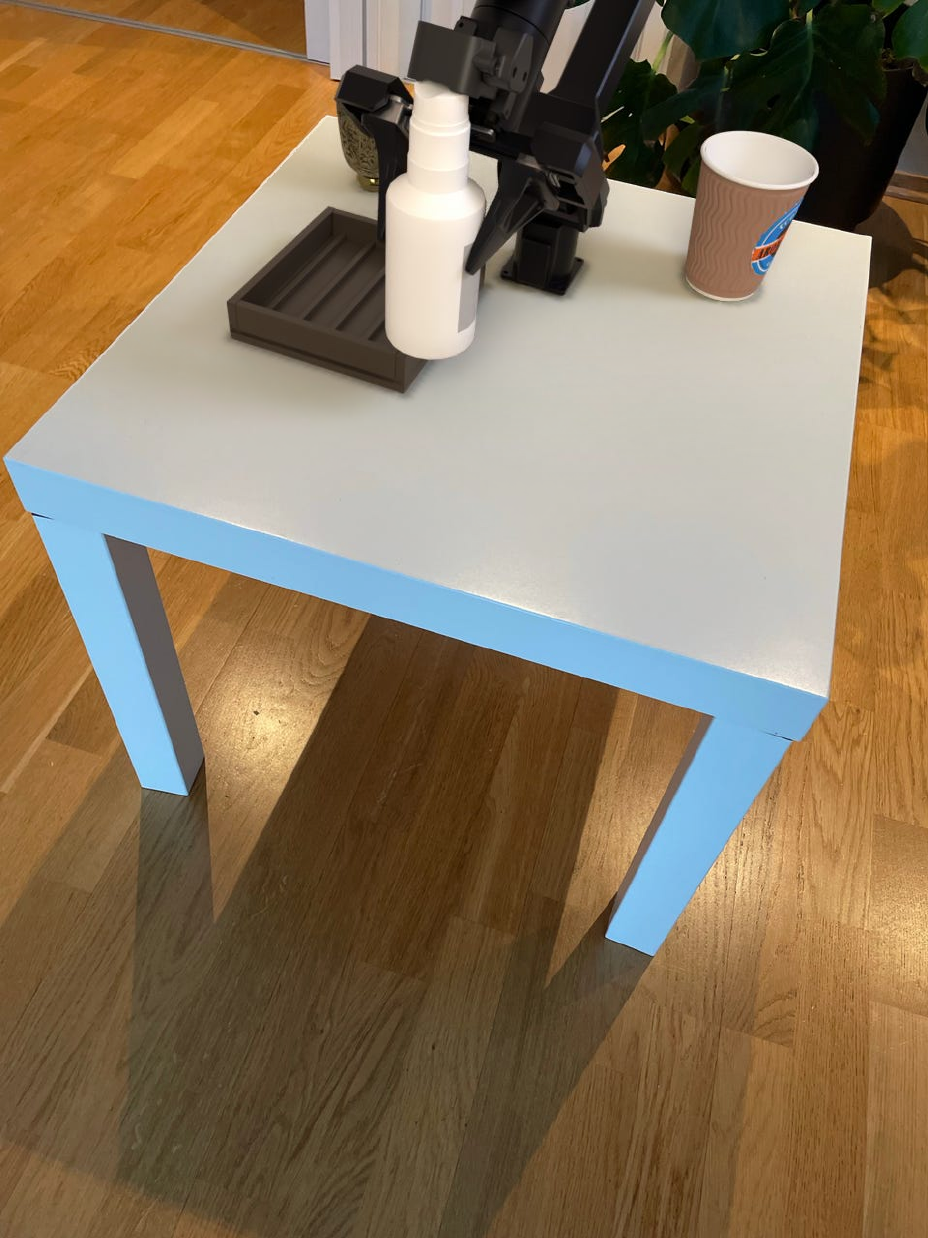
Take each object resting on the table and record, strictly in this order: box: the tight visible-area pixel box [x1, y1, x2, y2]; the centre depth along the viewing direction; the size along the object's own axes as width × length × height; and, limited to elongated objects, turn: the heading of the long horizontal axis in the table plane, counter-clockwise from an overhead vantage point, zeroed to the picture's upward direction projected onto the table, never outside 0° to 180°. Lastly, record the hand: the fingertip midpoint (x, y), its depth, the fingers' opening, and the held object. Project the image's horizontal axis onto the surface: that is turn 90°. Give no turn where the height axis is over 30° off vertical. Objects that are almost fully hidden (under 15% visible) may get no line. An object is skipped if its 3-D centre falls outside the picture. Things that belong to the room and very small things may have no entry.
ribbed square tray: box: [226, 205, 487, 394], centre depth 82 cm, size 18×16×4 cm
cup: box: [335, 102, 379, 192], centre depth 95 cm, size 8×7×8 cm
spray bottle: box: [385, 80, 488, 361], centre depth 65 cm, size 7×7×18 cm
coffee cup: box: [685, 130, 820, 302], centre depth 87 cm, size 10×10×12 cm
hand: (424, 257), depth 66 cm, fingers closed on spray bottle, 7 cm apart
